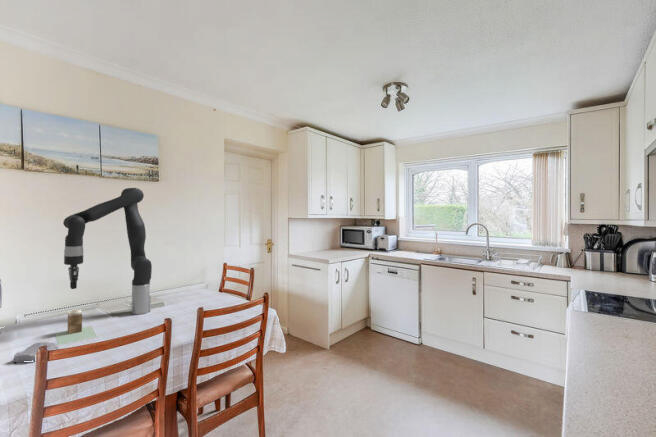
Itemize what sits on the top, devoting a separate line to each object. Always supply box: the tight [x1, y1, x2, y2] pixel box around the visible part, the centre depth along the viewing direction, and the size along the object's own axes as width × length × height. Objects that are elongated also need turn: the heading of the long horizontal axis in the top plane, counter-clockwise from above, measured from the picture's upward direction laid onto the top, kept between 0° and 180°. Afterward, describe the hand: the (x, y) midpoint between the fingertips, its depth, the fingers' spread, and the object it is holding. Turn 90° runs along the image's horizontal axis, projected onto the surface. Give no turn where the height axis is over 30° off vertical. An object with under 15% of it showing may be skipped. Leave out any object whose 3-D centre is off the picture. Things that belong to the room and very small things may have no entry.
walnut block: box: [67, 309, 83, 334], centre depth 149 cm, size 5×5×10 cm
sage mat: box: [54, 325, 98, 346], centre depth 146 cm, size 14×18×1 cm
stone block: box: [13, 341, 59, 364], centre depth 126 cm, size 12×5×10 cm
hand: (73, 287), depth 154 cm, fingers closed
